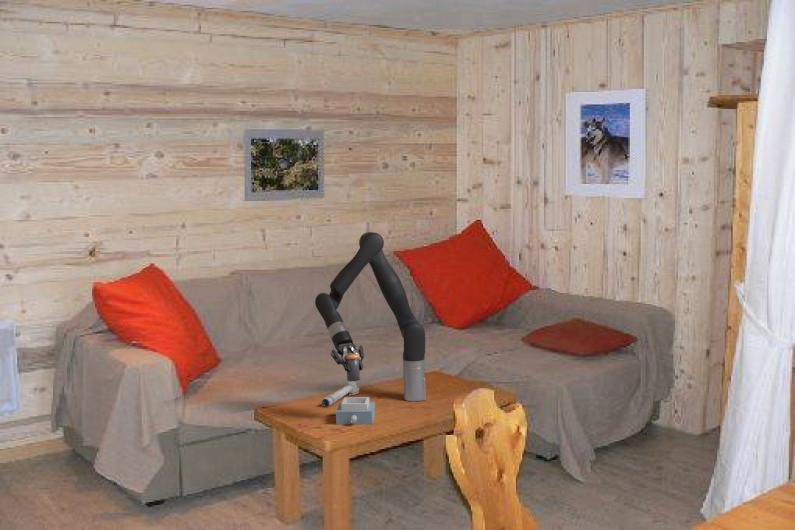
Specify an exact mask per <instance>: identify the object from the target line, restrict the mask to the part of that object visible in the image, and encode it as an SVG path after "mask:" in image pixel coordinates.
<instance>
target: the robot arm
mask: <svg viewBox="0 0 795 530" xmlns="http://www.w3.org/2000/svg"><path fill="white" fill-rule="evenodd" d="M358 242H359V243H358V245H359V249H358V250H357V252H356V254H355V255H354V256H353V257H352V259H351V260H350V261H349V262H347V264H346V265H345V266H344V267H343V268H342V269H341V270H340V271H338V273H337V274H336V276H335V277H334V278H333V280H332V281H331V283H330V285H329V288H330V292H329V294H328V293H326V292H321V293H319V294H317V295H316V297H315V300H314V304H315V308H316V309H317V311H318V313H319V314H320V316H321V318H322V319H323V321H324V324H325V326H326V329H327V330H328V334H329V336H330V339H331V341H332V344H333V345H334V346H333V347H334V348H335V349H332V350H331V352H330V356H331V357H332V359H333V360H334V361H335V363H336V364H337V365H338V366H339V365H342V366H343V369H344V371H345V372H346V374H347V373H348V372H350V367H349V365H348V363H347V362H346V355H347V354H351V353H354V354H355V353H357V354H359V371H363V369H364V364H363V362H362V361H364V358H365V353H364V348H363V346H362V345H359V346H356V345H355V344H354V340H353V339H352V336H351V334H350V332H349V328H347V326H346V323H345V322H344V320H343V318H342V316H341V314H340V313H339V312H338V310H337V309H338V308H339V307H340V304H341V302H342V300H343V298H344V295H345V293H346V292H347V291H348V289H349V288H350V287H351V285H352V284H353V282H355V281H356V279H357V277H358V276H359V275H360V274H361V273H362V271H363V270H364V268H365V267H367V265H368V264H369V266H370V267H371V270H372V272H373V275H374V278H375V280H376V283H377V284H378V287H379V289H380V291H381V293H382V295H383V298H384V299H385V302H386V304H387V305H388V307H389V308H390V310H391V311H392V313H393V315H394V317H395V319H396V323H397V324H398V327H399V331H400V334H401V337H402V338H403V352H402V369H403V371H402V372H403V376H402V377H403V399H404V400H405V401H408V402H421V401H426V399H427V398H426V397H427V394H426V391H427V390H426V385H427V384H426V367H425V365H426V363H425V362H426V361H425V356H426V355H425V354H426V331H425V328H424V327H423V326H422V325H421V324H420V323H419V321H418V320H417V318H416V316H415V315H414V313H413V311H412V309H411V307H410V304H409V299H408V296H407V293H406V290H405V287H404V285H403V283H402V281H401V279H400V277H399V275H398V274H397V272H396V270H395V269H394V268H393V267H392V266H391V264H390V263H389V262H388V260H387V257H386V256H385V253H384V251H383V248H384V245H385V240H384V238H383V236H382V235H381V234H380V233H377V232H373V231H372V232H371V231H368V232H365V233H363V234H362V235H361V236H360V238H359V241H358Z"/></svg>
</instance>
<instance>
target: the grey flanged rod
mask: <svg viewBox="0 0 795 530" xmlns="http://www.w3.org/2000/svg"><path fill="white" fill-rule="evenodd" d="M357 393H359V394H360V387H359V386H358V383H357V381H348V384H347V385H345V386H344V387H343V386H342V387H341V388H339V389H337V390H336V391H334V392H332V393H331V394H327V395H326V396H325V398H323V399H322V400H321V401H320V402H321V406H322V405H325V406H329V407H331V406H332V405H331V404H333V405H335V403H336V402H338V401H339V400H340V399H342V398H343V397H344V396H345V397H346V395H348V394H357ZM330 405H331V406H330Z"/></svg>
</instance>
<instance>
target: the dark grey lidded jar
mask: <svg viewBox="0 0 795 530" xmlns="http://www.w3.org/2000/svg"><path fill="white" fill-rule="evenodd" d="M357 353H358V352H357ZM357 353H355V354H354V353H351V354H347V355H346V362H347V363H348V365H349V367H350V372H348V373H347V372H346V381H348V382H350V381H356V382H358V381H360V380H361V376H360V370H359V353H358V354H357Z"/></svg>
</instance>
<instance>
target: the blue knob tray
mask: <svg viewBox="0 0 795 530" xmlns="http://www.w3.org/2000/svg"><path fill="white" fill-rule="evenodd" d="M343 397H344V396H343ZM375 416H376V402H375V401H370V396H367V397H365V396H364V397H362V396H360V397H358V396H356V397H355V396H348V397H347V396H345V397H344V398H343V399H342V401H341V402H339V404H338V407H337V408H336V410H335V424H336V425H373V424H374V423H373V422H374V419H375Z"/></svg>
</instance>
